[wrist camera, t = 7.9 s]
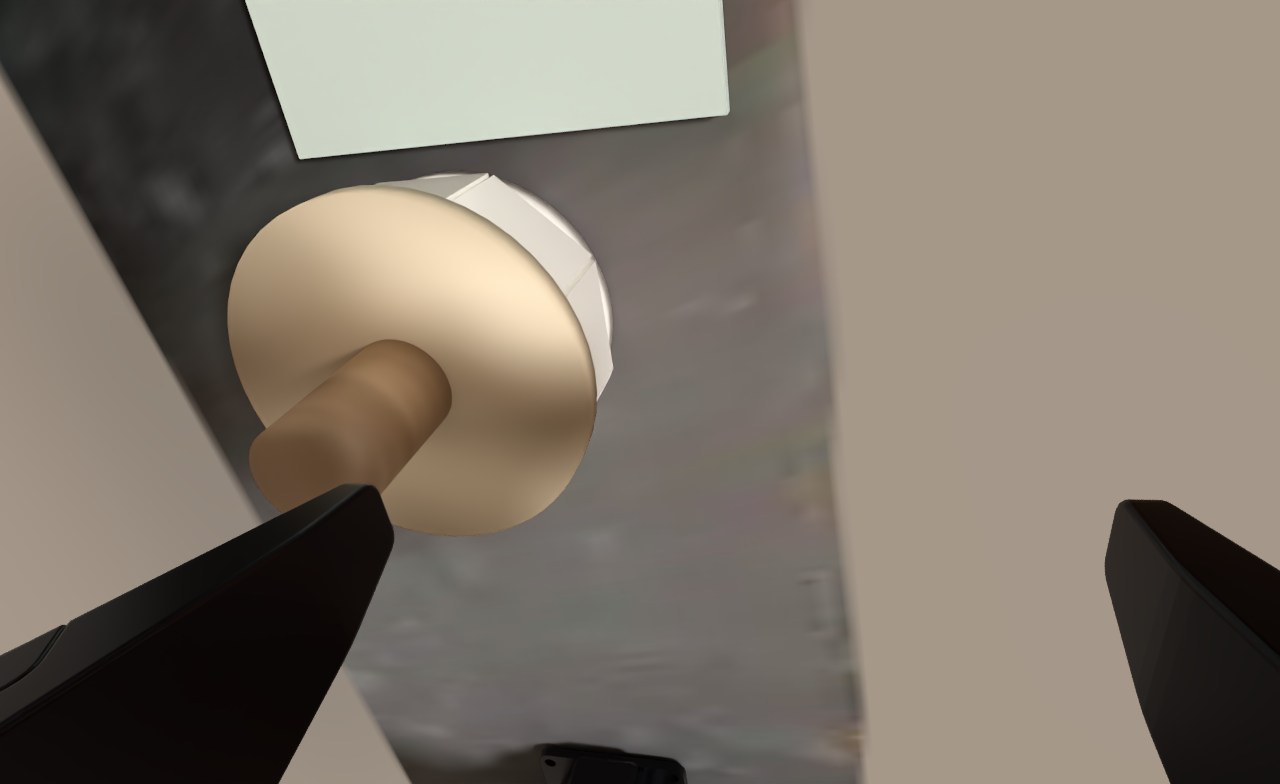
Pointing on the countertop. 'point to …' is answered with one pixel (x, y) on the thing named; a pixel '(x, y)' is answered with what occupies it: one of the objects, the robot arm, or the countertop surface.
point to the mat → (486, 68)
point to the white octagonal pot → (538, 248)
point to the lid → (409, 361)
